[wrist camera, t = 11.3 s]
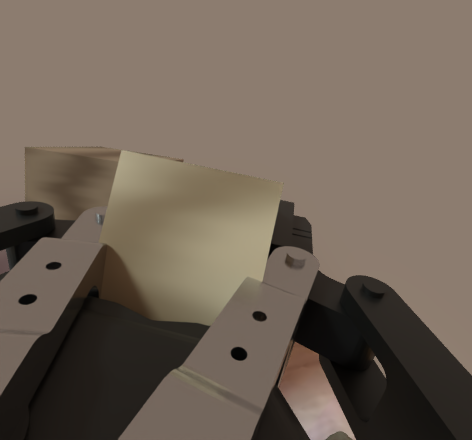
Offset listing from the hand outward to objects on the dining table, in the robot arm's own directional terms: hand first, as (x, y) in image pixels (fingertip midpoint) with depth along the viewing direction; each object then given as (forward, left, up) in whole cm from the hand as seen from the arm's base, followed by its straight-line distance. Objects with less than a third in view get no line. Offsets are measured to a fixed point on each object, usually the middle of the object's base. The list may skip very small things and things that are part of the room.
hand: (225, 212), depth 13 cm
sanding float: (0, +3, -4) cm, 6 cm away
